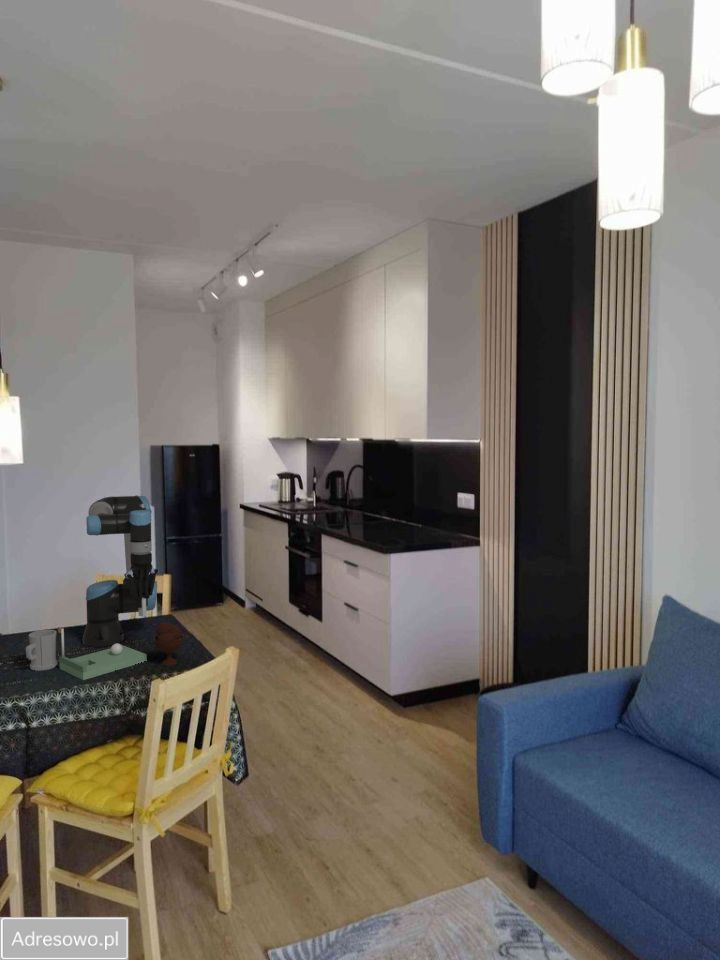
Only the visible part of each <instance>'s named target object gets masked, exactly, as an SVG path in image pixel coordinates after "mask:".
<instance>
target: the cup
mask: <svg viewBox="0 0 720 960" xmlns="http://www.w3.org/2000/svg"><path fill="white" fill-rule="evenodd" d="M28 640H29V645H27V646H26V648H25V656H26V659H27V660H29V661H30V663H29V668H30V670H32V671H34V670H35V671H36V672H41V671H42V672H43V671H47V670H51V669H54V668H56V666H58V659H57V658H56V657H57V656H56V655H57V653H56V651H57V649H56V648H57V630H54V629H41V630H37V631H35V630H34V631H33V632H30V633H29V634H28Z"/></svg>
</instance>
